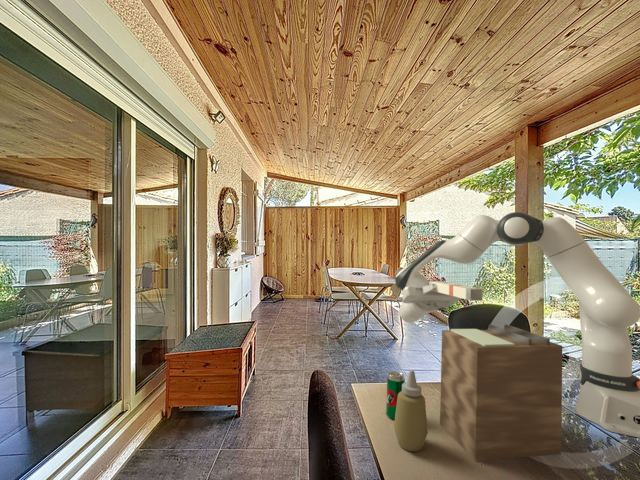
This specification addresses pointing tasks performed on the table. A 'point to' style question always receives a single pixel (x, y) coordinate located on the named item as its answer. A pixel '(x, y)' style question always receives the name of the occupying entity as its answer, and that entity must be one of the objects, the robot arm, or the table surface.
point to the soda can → (393, 392)
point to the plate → (482, 337)
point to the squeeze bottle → (411, 416)
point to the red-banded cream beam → (458, 290)
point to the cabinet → (502, 394)
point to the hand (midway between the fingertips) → (441, 285)
